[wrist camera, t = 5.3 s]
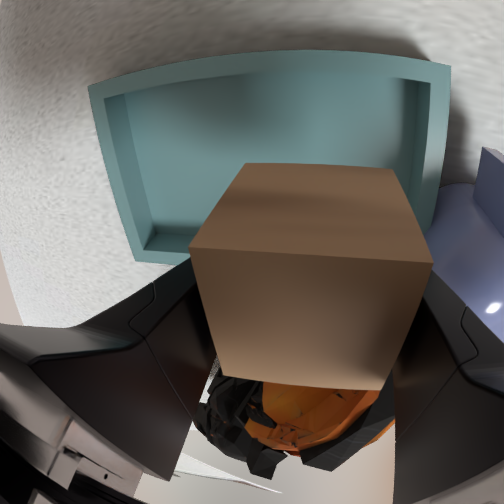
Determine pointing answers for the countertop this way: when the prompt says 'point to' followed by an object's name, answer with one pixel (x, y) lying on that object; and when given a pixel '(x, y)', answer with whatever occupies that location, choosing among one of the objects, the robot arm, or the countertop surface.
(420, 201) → the tray
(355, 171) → the block walnut
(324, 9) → the countertop surface
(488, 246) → the mug
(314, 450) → the tool
